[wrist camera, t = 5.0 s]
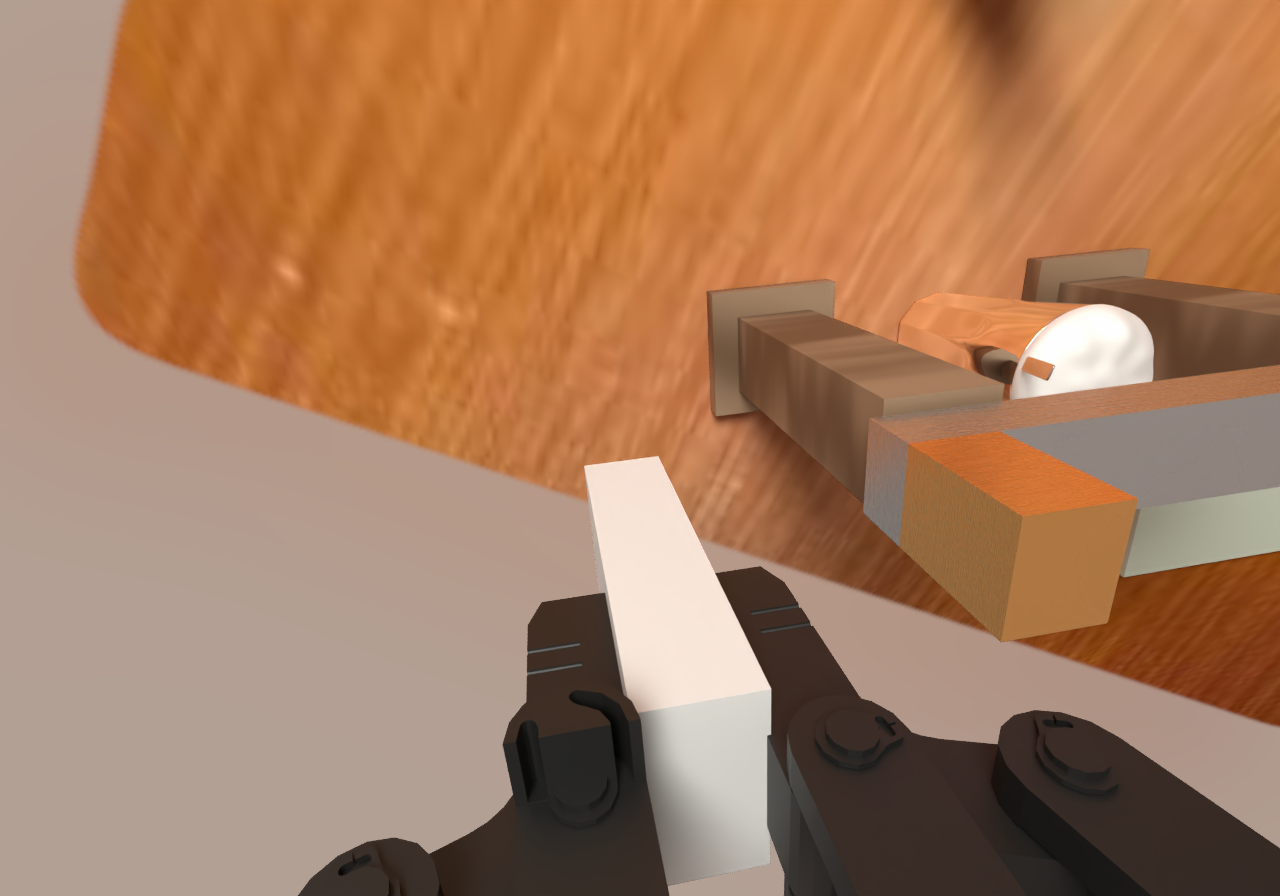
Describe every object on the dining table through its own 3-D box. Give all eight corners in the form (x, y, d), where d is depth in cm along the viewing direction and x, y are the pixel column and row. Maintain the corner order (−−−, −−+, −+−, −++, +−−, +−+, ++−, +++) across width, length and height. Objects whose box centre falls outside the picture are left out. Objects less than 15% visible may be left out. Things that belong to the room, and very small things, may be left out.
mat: (1162, 374, 30) (1174, 377, 29) (1359, 348, 31) (1374, 351, 30) (1113, 571, 34) (1123, 577, 33) (1289, 541, 35) (1301, 547, 34)
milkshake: (890, 258, 26) (1091, 289, 16) (997, 291, 27) (1239, 337, 18) (849, 365, 27) (1013, 448, 18) (953, 391, 28) (1156, 482, 19)
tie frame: (706, 291, 25) (845, 361, 14) (1405, 219, 29) (1951, 230, 18) (710, 410, 27) (835, 556, 16) (1366, 328, 31) (1838, 398, 19)
